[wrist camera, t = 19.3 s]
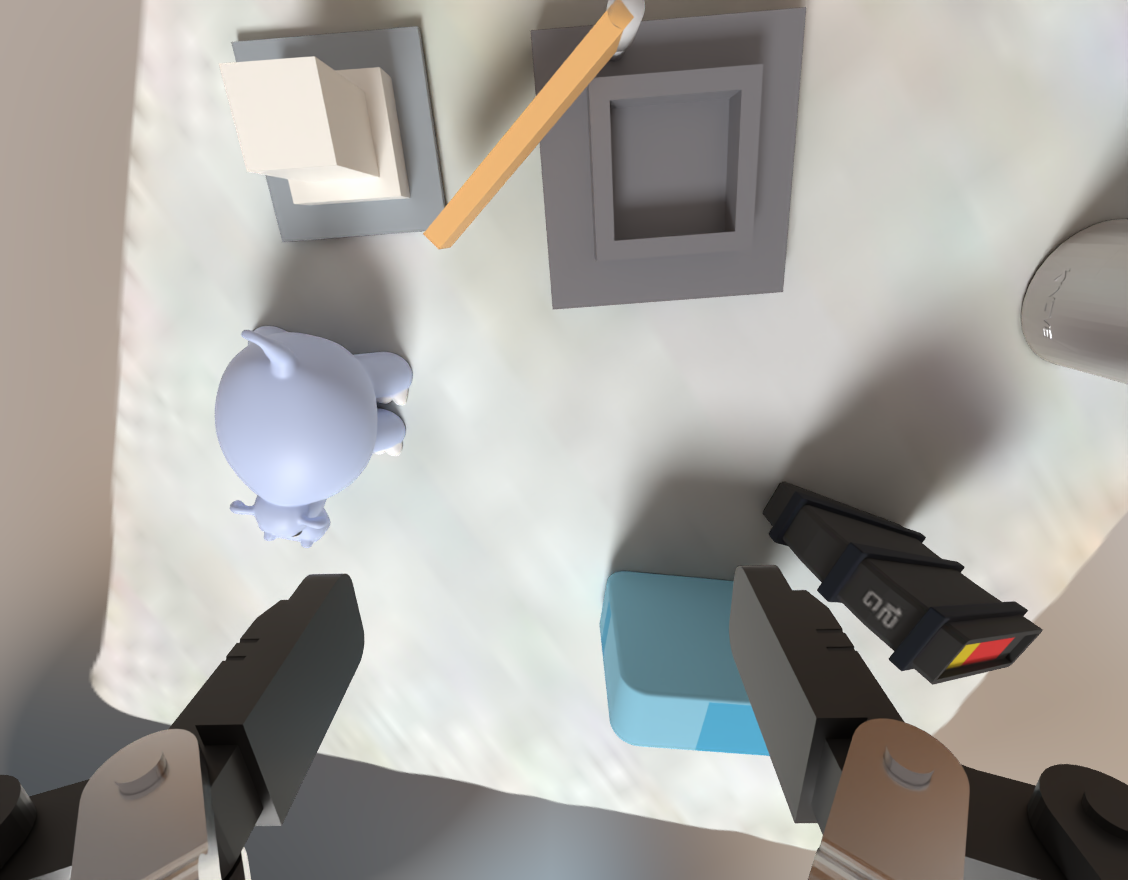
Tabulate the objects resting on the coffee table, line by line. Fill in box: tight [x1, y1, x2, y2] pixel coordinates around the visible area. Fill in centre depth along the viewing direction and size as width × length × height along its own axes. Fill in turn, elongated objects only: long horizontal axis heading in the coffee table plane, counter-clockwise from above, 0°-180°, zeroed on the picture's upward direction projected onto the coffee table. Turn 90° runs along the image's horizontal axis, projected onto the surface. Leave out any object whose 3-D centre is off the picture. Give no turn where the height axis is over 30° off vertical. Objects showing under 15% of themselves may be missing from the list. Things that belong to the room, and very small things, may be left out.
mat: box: [231, 26, 446, 242], centre depth 30 cm, size 10×10×1 cm
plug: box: [219, 56, 410, 205], centre depth 26 cm, size 6×6×8 cm
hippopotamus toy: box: [215, 326, 412, 548], centre depth 32 cm, size 11×15×10 cm
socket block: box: [531, 7, 806, 309], centre depth 29 cm, size 14×14×4 cm
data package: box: [600, 571, 770, 756], centre depth 37 cm, size 12×4×12 cm, turn 83°
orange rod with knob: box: [423, 0, 645, 249], centre depth 25 cm, size 2×14×3 cm, turn 136°
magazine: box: [763, 482, 1042, 685], centre depth 35 cm, size 4×13×15 cm, turn 68°
